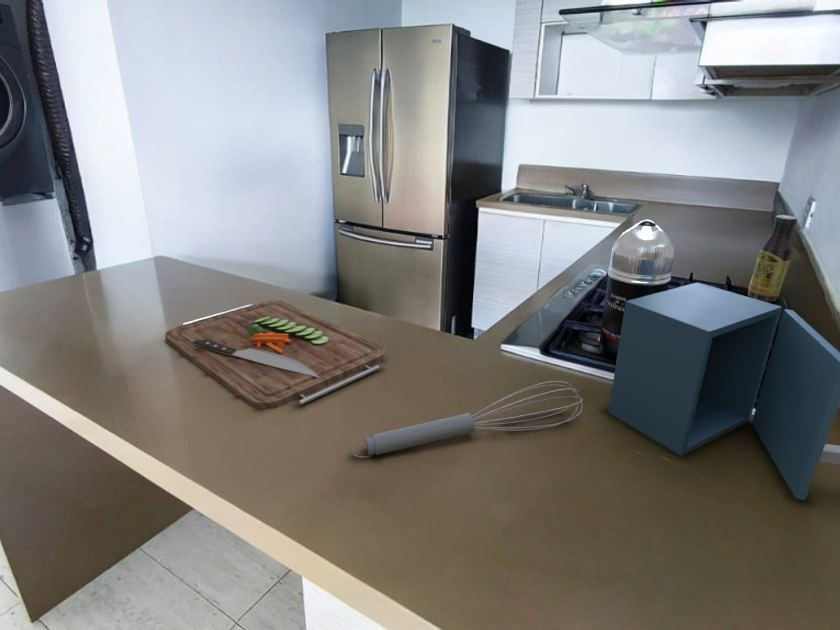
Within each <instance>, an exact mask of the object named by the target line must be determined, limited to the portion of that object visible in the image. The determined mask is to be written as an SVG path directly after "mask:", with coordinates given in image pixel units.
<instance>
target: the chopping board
mask: <svg viewBox="0 0 840 630" xmlns="http://www.w3.org/2000/svg"><path fill="white" fill-rule="evenodd" d="M164 338H165V341H166V344H168V345H169V346H170V347H171V348H173V349H174V350H176V351H177V352H178V353H180V354H181V355H182V356H183V357H185V358H186V359H188V360H189V361H190V362H191V363H193V364H195V366H197V367H198V368H200V369H201V370H202V371H204V372H205V373H206V374H208V375H209V376H210V377H211V378H212V379H214V380H215V381H216V382H218V383H219V384H221V385H222V386H223V387H224V388H226V389H227V390H228V391H230V392H231V393H233V394H235V395H236V396H237V397H239V398H240V399H241V400H242V401H244V402H245V403H246V404H248V405H249V406H251V407H252V408H255V409H256V410H257V409H258V410H272V409H276V408H280V407H282V406H285V405H287V404H289V403H292V402H294V401H296V400H298V399H299V400H298V404H299V406H303V405H305V404H307V403H310V402H311V401H313V400H316V399H318V398H321V397H322V396H325V395H327V394H329V393H331V392H333V391H336V390H338V389H340V388H342V387H344V386H346V385H348V384H351V383H353V382H355V381H358V380H359V379H361V378H364V377H365V376H368V375H371V374H373V373H375V372H377V371H379V370H380V369H381V368H380V365H378V363H380V362H382V361H384V360H385V359H386V348H385V347H384V346H383V345H381V344H379V343H377V342H375V341H373V340H371V339H368V338H365V337H364V336H361V335H359V334H357V333H355V332H352V331H350V330H348V329H346V328H343V327H341V326H339V325H337V324H335V323H332V322H330V321H328V320H326V319H323V318H321V317H319V316H317V315H314V314H313V313H310V312H308V311H306V310H304V309H302V308H299V307H297V306H295V305H292V304H290V303H288V302H286V301H283V300H269V301H264V302H260V303H257V304H253V303H249V304H246V305H242V306H238V307H235V308H231V309H228V310H223V311H220V312H217V313H214V314H210V315H205V316H203V317H200V318H196V319H192V320H189V321H185V322H182V323H181V325H180V326H177V327H174V328H170V329H169V330H168V331H166V333H165V335H164ZM372 366H373V367H372ZM365 369H366V370H365ZM358 372H360V373H358ZM356 373H357V374H356ZM354 374H355V375H354ZM352 375H353V376H352ZM350 376H351V377H350ZM343 379H344V380H343ZM341 380H342V381H341ZM336 382H337V383H336ZM327 386H328V387H327ZM325 387H326V388H325ZM323 388H324V389H323ZM316 391H317V392H316ZM314 392H315V393H314ZM311 393H313V394H311ZM309 394H311V395H309ZM307 395H308V396H307ZM300 398H301V399H300Z"/></svg>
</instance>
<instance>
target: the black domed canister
mask: <svg viewBox="0 0 840 630" xmlns="http://www.w3.org/2000/svg"><path fill="white" fill-rule="evenodd" d="M674 247H675V246H674V244H673V242H672V240H671V239H670V237H669V236H668V235H667V234H666V232H665V231H664V230H663V229H661V228H660V227H659V226H658V225H657V224H656V223H655V222H654V221H652V220H650V219H645V220H641V221H640V222H639V223H636V224H635V225H634V226H632V227H630V228H629V229H627V230H625V231H624V232H623V233H622V234H621V235H620V236H619V237H618V238H616V240H615V242H614V243H613V245H612V248H611V254H610V260H609V261H610V262H609V266H608V270H607V275H608V277H607V283H606V291H605V298H604V304H603V305H604V306H603V312H602V319H601V327H600V333H599V341H598V347H599V349H600V351H601V352H602V353H603V354H604V355H605V356H606V357H608V358H610V359H613V360H614V361H616V360H617V354H618V348H619V341H620V335H621V329H622V322H623V316H624V310H625V303H626V301H629V300H632V299H636V298H640V297H644V296H648V295H651V294H655V293H659V292H663V291H667V290H669V286H670V284H669V283H670V282H671V281H672V272H673V267H674V262H675V261H674V260H675V253H676V252H675V248H674ZM601 329H602V330H601Z"/></svg>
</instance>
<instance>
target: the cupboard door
mask: <svg viewBox="0 0 840 630" xmlns="http://www.w3.org/2000/svg"><path fill="white" fill-rule="evenodd" d="M770 353H771V354H770V357H769V360H768V365H767V368H766V371H765V375H764V379H763V382H762V385H761V389H760V392H759V395H758V400H757V403H756V405H755V406H756V407H755V410H754V413H753V417H752V420H751V424H752V426H753V428H754V430H755V431H756V434H757V435H758V437H759V438H760V440H761V442H762V444H763V445H764V447H765V448H766V450H767V452H768V454H769V455H770V457H771V459H772V460H773V462H774V464H775V466H776V467H777V469H778V471H779V473H780V474H781V477H782V478H783V480H784V481H785V483H786V485H787V487H788V488H789V490H790V492H791V493H792V495H793V497H794V499H795V500H800V501H806V499H807V497H808V494H809V490H810V488H811V486H812V484H813V483H812V482H813V479H814V477H815V473H816V471H817V468H818V467H819V466H818V465H819V463H823V464H831V465H838V466H840V445H837V444H836V445H835V444H828V443H827V440H828V438H829V435H830V432H831V430H832V427H833V424H834V421H835V418H836V417H837V416H836V415H837V412H838V410H839V408H840V351H839V350H838V349H836V348H835V347H834V346H833V345H832V344H831V343H829V342H828V341H827V339H825V338H824V337H823V336H822V335H821V334H820V333H818V331H816V330H815V329H814V328H813V327H812V326H811V325H810V324H809V323H807V321H805V319H803V318H802V317H801V316H800V315H798V314H797V313H796V312H795V311H794V309H786V308H785V309H783V311H782V315H781V318H780V322H779V325H778V330H777V332H776V336H775V339H774V344H773V345H772V350H771V352H770Z"/></svg>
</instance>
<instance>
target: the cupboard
mask: <svg viewBox="0 0 840 630" xmlns="http://www.w3.org/2000/svg"><path fill="white" fill-rule="evenodd" d="M782 309H783V306H781V305H777V304H773V303H772V302H764V301H760V300H757V299H753V298H750V297H749V296H746V295H742V294H739V293H735V292H732V291H728V290H725V289H722V288H719V287H715V286H711V285H707V284H704V283H701V282H697V281H696V282H693V283H690V284H686V285H683V286H679V287H675V288H671V289H668V290H667V291H663V292H659V293H655V294H651V295H648V296H644V297H640V298H636V299H632V300H629V301H626V303H625V310H624V316H623V322H622V329H621V335H620V341H619V348H618V354H617V360H615V361H616V362H615V367H614V374H613V381H612V387H611V393H610V399H609V405H608V413H609V414H610V415H611V416H613V417H615V418H617V419H618V420H619V421H622V422H623V423H624V424H627V425H628V426H630V427H631V428H633V429H635V430H637V431H638V432H639V433H642V434H643V435H645V436H647V437H648V438H650V439H652V440H654V441H655V442H657V443H658V444H660V445H661V446H664V447H665V448H666V449H668V450H670V451H672V452H673V453H675V454H677V455H678V456H680V457H682V456H684V455H686V454H688V453H689V452H692V451H694V450H696V449H698V448H699V447H701V446H703V445H706V444H707V443H710V442H712V441H713V440H715V439H717V438H719V437H721V436H724V435H726V434H727V433H729V432H731V431H733V430H734V429H737V428H739V427H741V426H743V425H744V424H747V423H749V422H750V421H751V418H752V414H753V411H754V407H755V403H756V400H757V397H758V393H759V389H760V386H761V383H762V379H763V375H764V371H765V369H766V365H767V361H768V358H769V354H770V351H771V347H772V344H773V340H774V337H775V334H776V329H777V326H778V322H779V319H780V316H781V313H782Z"/></svg>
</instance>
